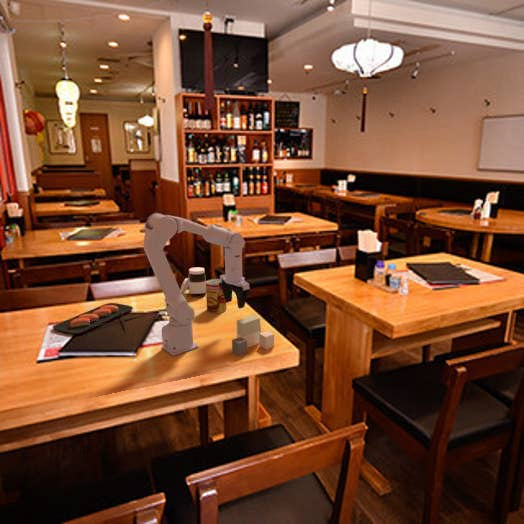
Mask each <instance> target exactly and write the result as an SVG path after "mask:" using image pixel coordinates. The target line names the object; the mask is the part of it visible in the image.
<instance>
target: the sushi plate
mask: <svg viewBox="0 0 524 524" xmlns="http://www.w3.org/2000/svg"><path fill="white" fill-rule="evenodd" d="M133 309H134V307H133V306H131V305H129V304H128V305H127V304H123V303H117V302H109V303H105V304H102V305H100V306H97V307H95V308H92V309H90V310H87V311H85V312H83V313H80V314H78V315H76V316H73V317H71V318H68V319H66V320H64V321H61V322H59V323H57V324H55V325H53V326H52V329H54V330H55V331H58V332H62V333H67V334H70V335H79V334H83V333H86V332H88V331H90V330H92V329H94V328H96V326H97V327H101V326H105V325H112V324H115V323H119V322H120V323H121V322H122V326H123V329H124V334H125V337H128V335H129V334H128V331H127V329H126V325H125V321H130V320H135V319H139V318H142V317H145V316H149V313H148V314H142V315H138V316H132V317H128V318H125V319H124V318H123V321H122V319H121V320H117V321H112V320H114V319H115V318H118V317H121V316H122V317H123V315H124V314H126V313H129V312H130V311H132V310H133ZM122 313H123V314H122ZM104 314H105V315H104ZM106 314H110V315H106ZM119 314H121V315H119ZM98 315H104V316H98ZM117 315H119V316H117ZM115 316H117V317H115ZM114 317H115V318H114ZM97 318H98V319H97ZM112 318H113V319H112ZM94 319H97V320H94ZM108 319H109V320H108ZM110 319H111V320H110ZM90 320H91V321H90ZM106 320H107V321H106ZM104 321H106V322H104ZM110 321H111V322H110ZM103 322H104V323H103ZM101 323H102V324H101ZM99 324H100V325H101V326H100V325H99ZM104 324H105V325H104ZM95 325H96V326H95ZM88 329H89V330H88ZM84 330H85V331H84ZM86 330H87V331H86ZM81 331H82V332H81Z"/></svg>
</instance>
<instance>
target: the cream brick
mask: <svg viewBox="0 0 524 524" xmlns="http://www.w3.org/2000/svg"><path fill="white" fill-rule="evenodd" d="M259 334H260V331H258V332H255V333H252V334H249V335H246V336H241V335H240V334H238V333H237V332H236V338H239V337H242V338H244V339H245V340H247V349H248V348H249V347H253V346H256V345H260V340H259Z"/></svg>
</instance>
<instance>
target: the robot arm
mask: <svg viewBox="0 0 524 524" xmlns="http://www.w3.org/2000/svg"><path fill="white" fill-rule="evenodd" d="M183 231H185V232H189V233H192V234H196V235H198V236H202V237H203V239H204V241H205V242H207V243H210V244H214V245H218V246H220V247H224V265H225V269H224V271H225V273H224V274H221V275H219V279H220V281H222V283H219V286H220V288H221V290H222V292H223V295H224V298H225V301H226V304H227V303H230V302H233V301H232V300H233V292H234V294H235V296H236V303H237V308H238V309H243V308H245V305H246V301H247V298H248V295H249V294H250V291H251V287H250V283H248V282H247V281H246V277H243V255H242V254H243V248H244V246H245V244H246V240H244V237H243V235H242V234H240V233H238V232H235V231H232V229H231V228H223V227H220V225H219V224H217V223H214V224H208V225H207V226H205V225H202V224H199V223H196V222H195V221H194V222H193V221H192V220H189V219H186V218H183V217H179V216H176V215H175V216H173V215H169V214H162V213H158V212H156V213H152V214H151V215H149V216H148V218H147V220H146V222H145V223H144V238H143V245H142V246H143V247H142V248H143V250H144V251H143V252H144V253H145V255H146V257H147V259H148V261H149V263H150V266H151V268H152V271H153V273H154V276H155V277H156V279H157V282H158V284H159V287H160V289H161V291H162V293H163V295H164V302H165V312H166V313H167V315H168V316H169V320H168V321H169V322H168V323H167V324H164V325H163V326H162V328H161V340H162V341H161V342H162V345H161V348H162V349H163V350H165V351H166V352H167V353H169V354H170V355H171V356H176V355H179V354H183V353H185V352H188V351H191V350H195V349H197V348H198V349H199V345H198V344H197V343H195V342H194V333H193V320H194V319H195V316H196V315H195V314H196V313H195V310H194V308H193V307H192V306H191V305H190V304H189V303H188V301H187V299H186V298H185V296H184V295H183V294H182V292H181V288H180V287H179V284H178V281H177V280H176V278H175V275H174V272H173V270H172V268H171V265H170V263H169V261H168V259H167V257H166V254H165V252H164V248H165V247H166V245H167V243H168V242H169V241H170V239H172V238H173V236H175V235H176V233H177V234H180V233H182V232H183ZM234 286H236V287H238V288H234Z"/></svg>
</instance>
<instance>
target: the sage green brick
mask: <svg viewBox="0 0 524 524" xmlns="http://www.w3.org/2000/svg"><path fill="white" fill-rule="evenodd" d="M260 325H261V318H260V317H258V316H257V315H250V316H247V317H244V318H241V319H238V320H236V334H237V333H238V334H240V335H241V336H246V335H249V334H252V333H255V332H258V331H260Z"/></svg>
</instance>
